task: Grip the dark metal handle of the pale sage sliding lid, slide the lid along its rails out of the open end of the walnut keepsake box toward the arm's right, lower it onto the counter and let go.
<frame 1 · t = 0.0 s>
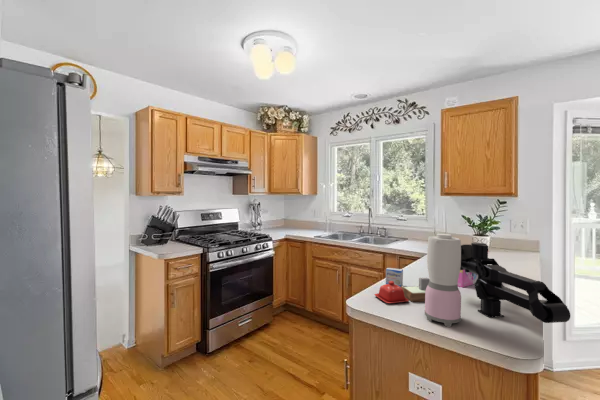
hand: (450, 258, 140), 17 cm above the table, tool horizontal, fingers open, 9 cm apart
walnut box: (420, 297, 132), on the table
butter dish: (391, 300, 130), on the table
medicine box: (394, 286, 150), on the table
gum box: (466, 282, 157), on the table
lid: (419, 291, 132), point 3 cm above the table, touching walnut box
blender: (443, 318, 111), on the table
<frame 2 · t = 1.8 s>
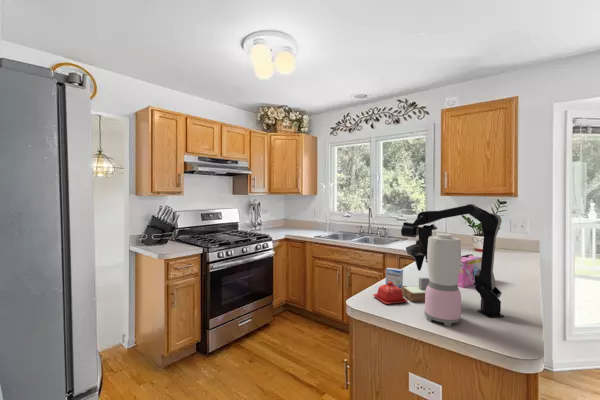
hand: (424, 273, 132), 11 cm above the table, tool pointing down, fingers open, 9 cm apart
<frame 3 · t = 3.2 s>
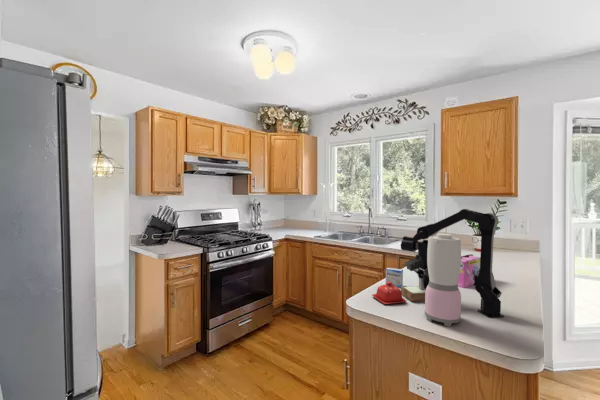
hand: (424, 287, 133), 5 cm above the table, tool pointing down, fingers closed on lid
lid: (419, 291, 132), point 3 cm above the table, touching gripper, walnut box
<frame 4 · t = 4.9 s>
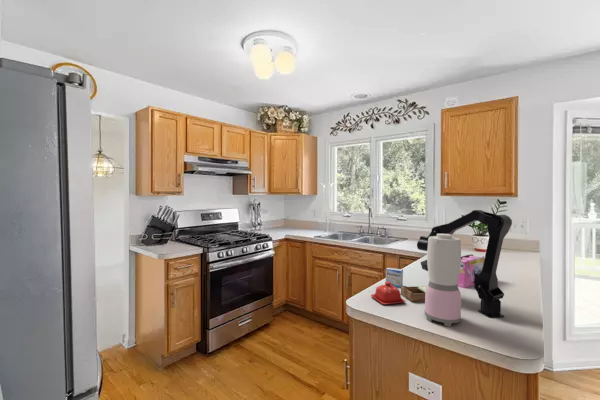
hand: (439, 287, 133), 4 cm above the table, tool pointing down, fingers closed on lid
lid: (434, 290, 133), point 3 cm above the table, touching gripper
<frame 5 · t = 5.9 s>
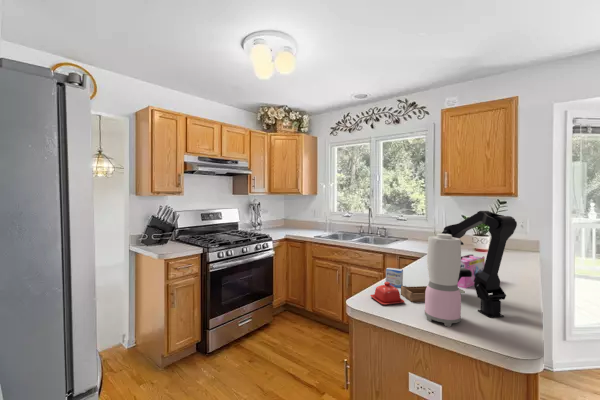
hand: (451, 287, 134), 4 cm above the table, tool pointing down, fingers closed on lid
lid: (447, 290, 134), point 3 cm above the table, touching gripper
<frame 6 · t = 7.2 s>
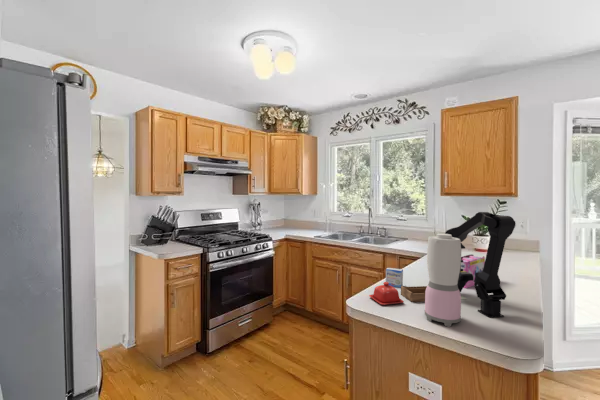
hand: (453, 290, 134), 3 cm above the table, tool pointing down, fingers open, 7 cm apart
lid: (448, 297, 134), on the table
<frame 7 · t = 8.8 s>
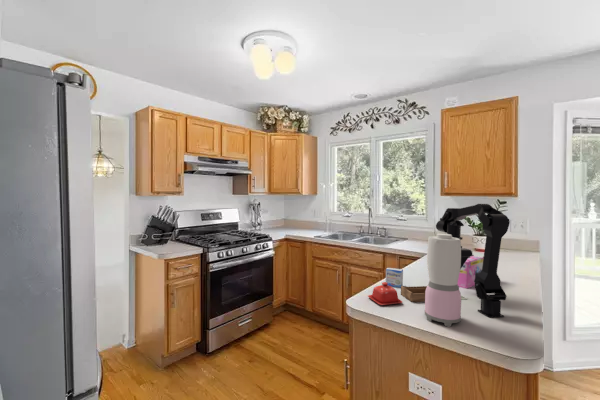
hand: (452, 267, 139), 13 cm above the table, tool pointing down, fingers open, 9 cm apart
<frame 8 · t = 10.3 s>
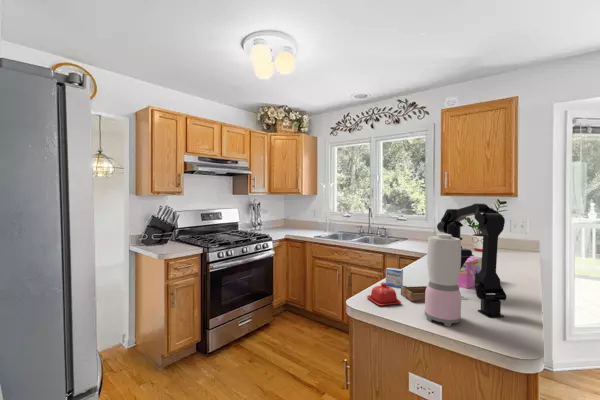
hand: (452, 267, 141), 12 cm above the table, tool pointing down, fingers open, 9 cm apart
at the end: lid inside the target area (2.7 cm from its centre), on the table; lid tilted 0°; the gripper is holding nothing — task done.
